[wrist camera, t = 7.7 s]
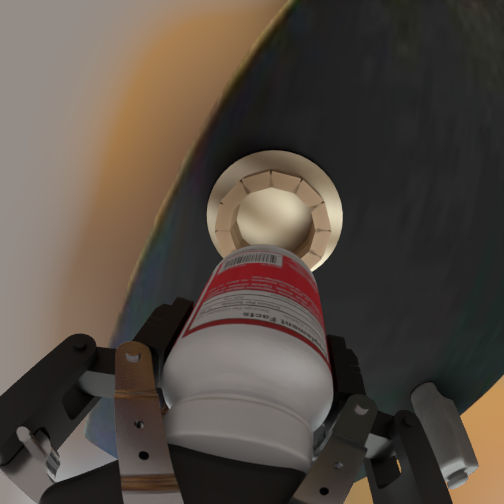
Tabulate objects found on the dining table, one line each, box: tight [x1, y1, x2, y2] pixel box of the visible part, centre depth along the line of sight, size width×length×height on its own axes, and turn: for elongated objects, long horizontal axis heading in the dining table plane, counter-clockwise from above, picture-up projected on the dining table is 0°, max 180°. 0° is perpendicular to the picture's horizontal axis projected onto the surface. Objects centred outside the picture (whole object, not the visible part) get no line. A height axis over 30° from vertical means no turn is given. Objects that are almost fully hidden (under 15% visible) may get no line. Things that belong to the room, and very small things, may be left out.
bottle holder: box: [207, 150, 342, 272], centre depth 30 cm, size 15×15×5 cm
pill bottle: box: [161, 245, 333, 473], centre depth 11 cm, size 6×6×11 cm
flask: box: [411, 382, 479, 489], centre depth 31 cm, size 15×6×20 cm, turn 51°
